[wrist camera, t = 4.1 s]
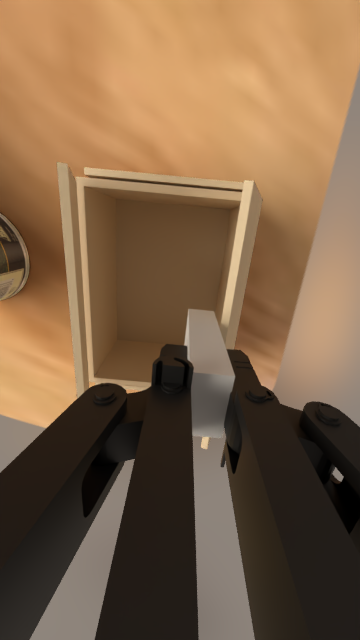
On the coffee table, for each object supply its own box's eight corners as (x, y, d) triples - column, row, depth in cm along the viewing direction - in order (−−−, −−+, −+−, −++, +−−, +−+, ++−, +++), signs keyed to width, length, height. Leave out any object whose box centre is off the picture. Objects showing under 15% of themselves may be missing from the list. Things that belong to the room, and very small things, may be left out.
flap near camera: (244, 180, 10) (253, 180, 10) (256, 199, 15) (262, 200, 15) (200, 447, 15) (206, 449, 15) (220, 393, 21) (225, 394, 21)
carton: (111, 185, 23) (74, 165, 15) (236, 197, 23) (261, 183, 15) (114, 346, 29) (89, 387, 22) (212, 354, 29) (221, 399, 22)
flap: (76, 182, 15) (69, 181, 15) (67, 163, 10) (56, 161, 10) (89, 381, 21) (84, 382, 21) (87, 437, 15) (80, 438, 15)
